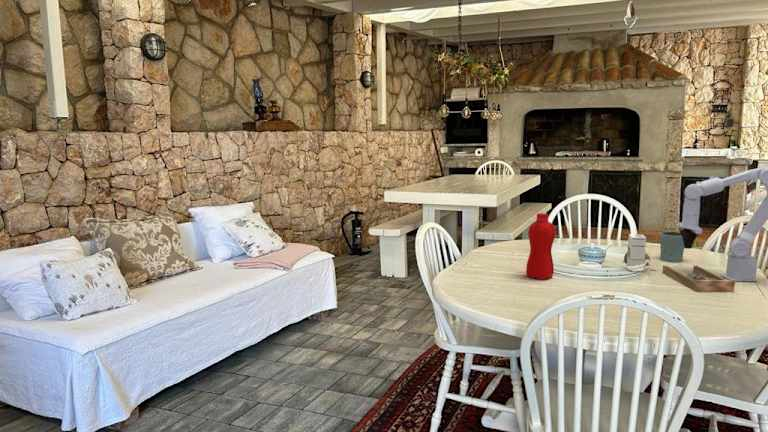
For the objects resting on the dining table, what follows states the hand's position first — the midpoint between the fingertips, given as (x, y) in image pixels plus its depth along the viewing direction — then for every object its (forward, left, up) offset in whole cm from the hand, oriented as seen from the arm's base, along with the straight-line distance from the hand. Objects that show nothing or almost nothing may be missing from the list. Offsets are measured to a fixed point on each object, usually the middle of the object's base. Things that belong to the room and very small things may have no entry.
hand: (687, 248), depth 226 cm
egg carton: (+4, +18, -10) cm, 22 cm away
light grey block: (+13, -16, -10) cm, 23 cm away
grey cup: (-4, -20, -10) cm, 23 cm away
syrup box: (+19, -3, -10) cm, 22 cm away
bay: (+3, +13, -10) cm, 17 cm away
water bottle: (+60, +7, -10) cm, 61 cm away
